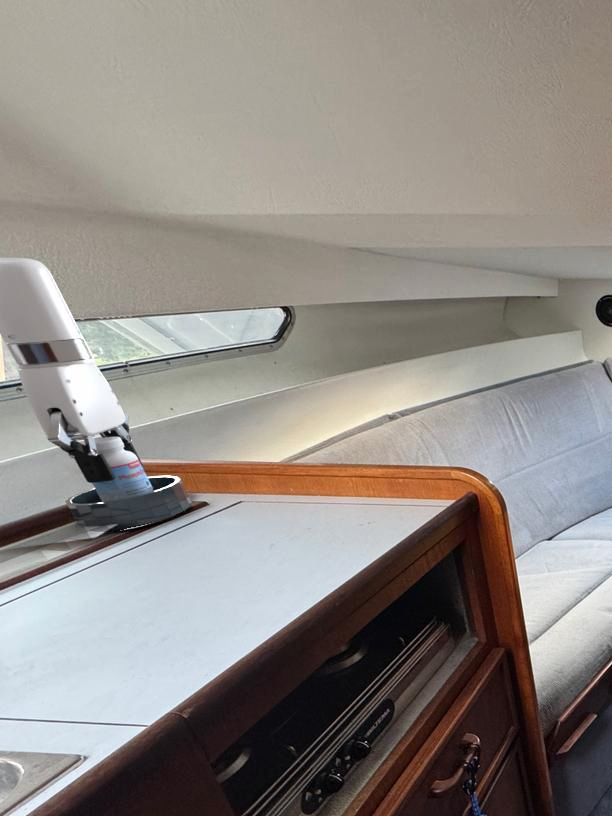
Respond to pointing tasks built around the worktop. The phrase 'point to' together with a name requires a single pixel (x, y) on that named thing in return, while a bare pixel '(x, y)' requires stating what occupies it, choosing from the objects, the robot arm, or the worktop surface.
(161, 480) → the bowl
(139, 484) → the pill bottle
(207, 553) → the worktop surface
